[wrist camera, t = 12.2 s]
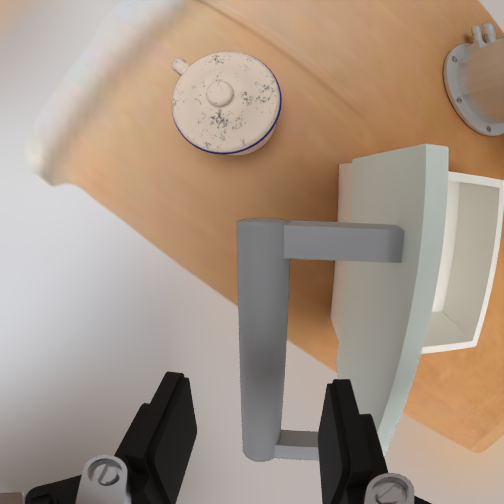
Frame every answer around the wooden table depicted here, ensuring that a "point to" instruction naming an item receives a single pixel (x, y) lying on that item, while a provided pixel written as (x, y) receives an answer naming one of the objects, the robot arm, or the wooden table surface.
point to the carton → (448, 259)
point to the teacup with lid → (226, 103)
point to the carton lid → (346, 295)
